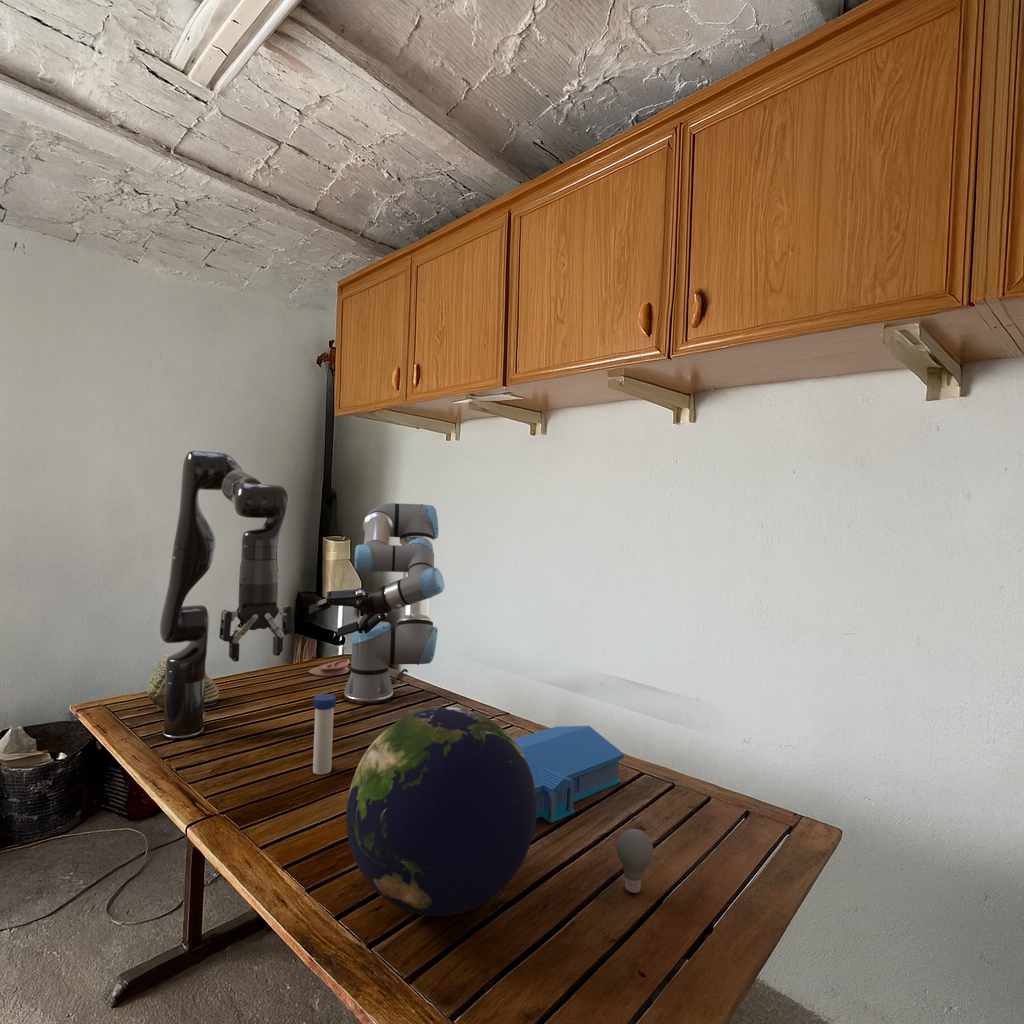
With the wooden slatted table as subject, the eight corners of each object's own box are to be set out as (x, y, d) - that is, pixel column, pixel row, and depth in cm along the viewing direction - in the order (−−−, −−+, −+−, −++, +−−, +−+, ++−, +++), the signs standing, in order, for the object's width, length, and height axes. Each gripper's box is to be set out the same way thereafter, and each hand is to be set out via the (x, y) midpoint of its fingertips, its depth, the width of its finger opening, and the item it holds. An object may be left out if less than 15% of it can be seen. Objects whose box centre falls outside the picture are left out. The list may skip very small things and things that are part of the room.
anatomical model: (304, 662, 222) (320, 655, 233) (303, 674, 222) (320, 665, 234) (339, 666, 220) (353, 658, 231) (338, 677, 220) (353, 669, 231)
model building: (505, 843, 118) (507, 790, 118) (429, 794, 136) (431, 748, 136) (632, 786, 145) (634, 743, 144) (555, 752, 163) (557, 713, 163)
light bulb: (610, 879, 108) (613, 822, 108) (644, 879, 109) (647, 822, 109) (619, 902, 102) (622, 840, 102) (655, 901, 103) (658, 840, 103)
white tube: (309, 773, 145) (312, 700, 144) (317, 766, 149) (320, 695, 148) (326, 775, 144) (329, 702, 144) (334, 768, 148) (337, 697, 148)
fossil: (144, 707, 182) (145, 655, 182) (212, 696, 194) (213, 647, 194) (151, 716, 175) (153, 662, 175) (221, 703, 188) (223, 653, 188)
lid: (309, 708, 144) (309, 699, 144) (319, 701, 149) (319, 692, 149) (329, 710, 143) (330, 701, 143) (339, 703, 148) (339, 694, 148)
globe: (300, 927, 93) (307, 725, 93) (407, 832, 121) (414, 676, 120) (484, 995, 82) (495, 765, 81) (556, 873, 110) (564, 701, 109)
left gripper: (284, 576, 139) (281, 649, 139) (216, 579, 129) (213, 658, 130) (299, 580, 134) (296, 656, 134) (230, 584, 124) (227, 667, 124)
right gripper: (366, 585, 164) (295, 611, 168) (412, 629, 182) (348, 652, 186) (366, 562, 169) (298, 588, 173) (411, 608, 187) (348, 630, 191)
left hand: (256, 657), depth 132 cm, fingers open, 8 cm apart
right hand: (323, 622), depth 179 cm, fingers open, 13 cm apart
